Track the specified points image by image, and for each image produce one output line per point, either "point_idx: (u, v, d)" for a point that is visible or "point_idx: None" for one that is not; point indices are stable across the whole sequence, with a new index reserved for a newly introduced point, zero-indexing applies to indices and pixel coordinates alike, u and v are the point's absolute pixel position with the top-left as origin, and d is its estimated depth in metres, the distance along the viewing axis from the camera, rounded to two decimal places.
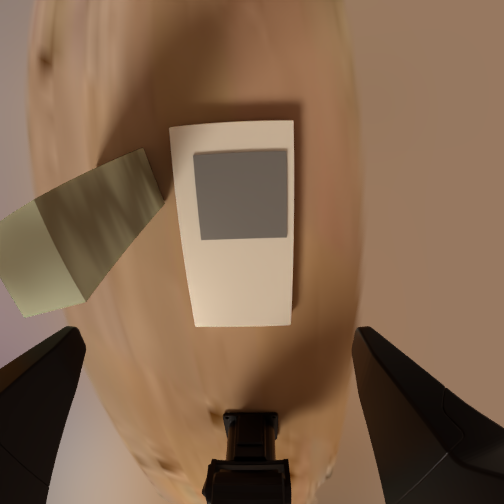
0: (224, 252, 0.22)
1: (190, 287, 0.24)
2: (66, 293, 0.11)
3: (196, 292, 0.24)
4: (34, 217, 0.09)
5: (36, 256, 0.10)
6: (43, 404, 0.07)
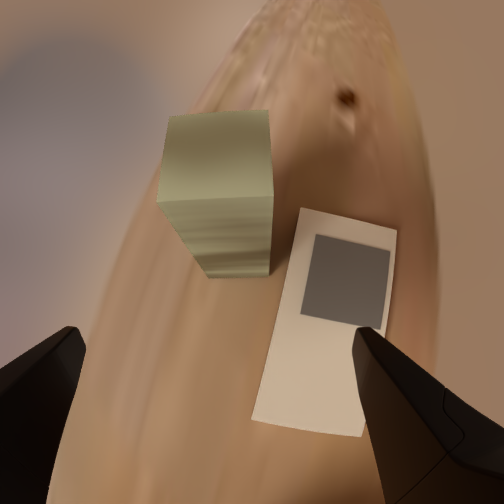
0: (318, 333, 0.21)
1: (267, 366, 0.20)
2: (253, 183, 0.12)
3: (270, 374, 0.20)
4: (260, 119, 0.13)
5: (239, 145, 0.12)
6: (43, 404, 0.07)
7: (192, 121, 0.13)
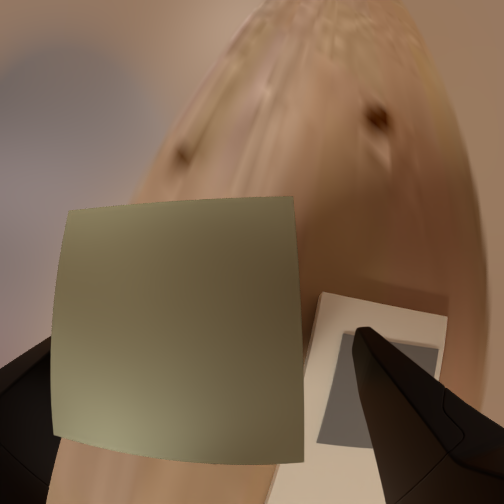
0: (338, 463, 0.13)
1: (271, 500, 0.12)
2: (255, 431, 0.04)
3: None
4: (274, 229, 0.05)
5: (219, 314, 0.05)
6: (43, 403, 0.07)
7: (110, 228, 0.05)
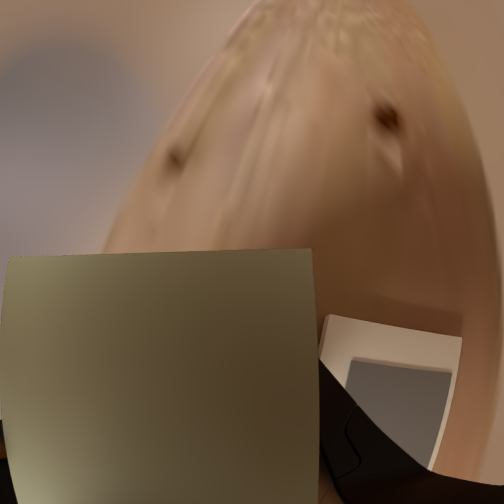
0: None
1: None
2: None
3: None
4: (282, 302, 0.03)
5: (201, 427, 0.03)
6: None
7: (54, 288, 0.04)
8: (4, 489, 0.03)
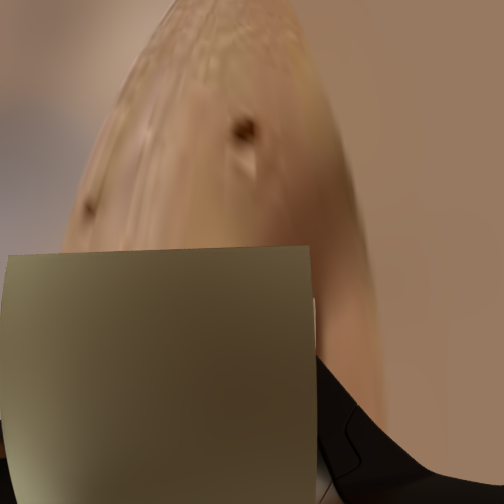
0: None
1: None
2: None
3: None
4: (280, 299, 0.03)
5: (199, 424, 0.03)
6: None
7: (53, 286, 0.04)
8: (4, 489, 0.03)
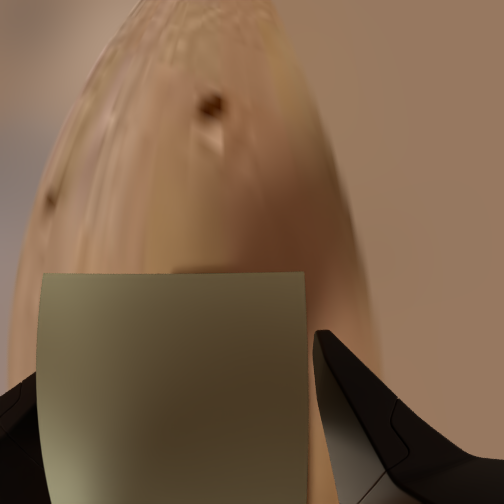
0: None
1: None
2: None
3: None
4: (279, 314, 0.04)
5: (215, 413, 0.04)
6: None
7: (89, 301, 0.04)
8: None
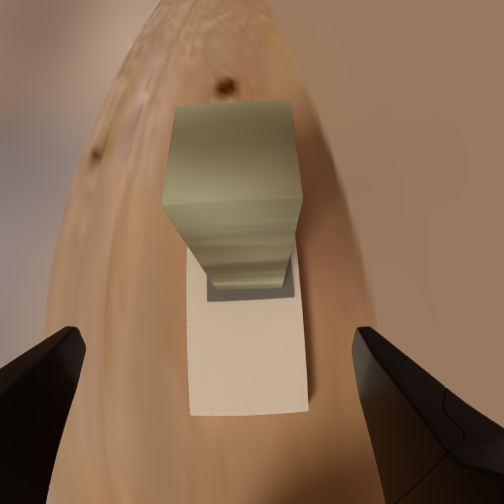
0: (230, 316, 0.21)
1: (189, 360, 0.20)
2: (278, 183, 0.10)
3: (195, 367, 0.20)
4: (281, 111, 0.11)
5: (259, 139, 0.10)
6: (42, 403, 0.07)
7: (203, 112, 0.11)
8: None
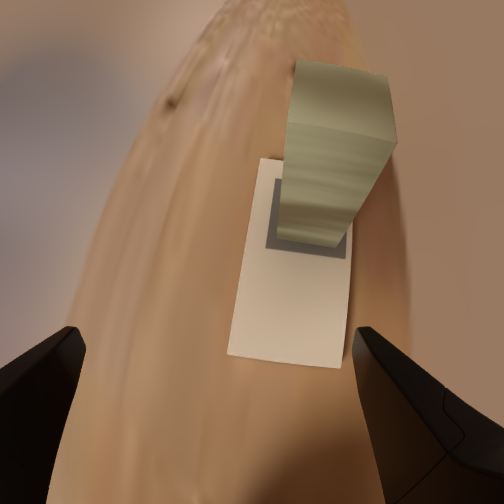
0: (284, 265, 0.23)
1: (238, 299, 0.22)
2: (379, 128, 0.11)
3: (242, 307, 0.22)
4: (381, 82, 0.12)
5: (365, 96, 0.12)
6: (43, 403, 0.07)
7: (319, 67, 0.12)
8: None
